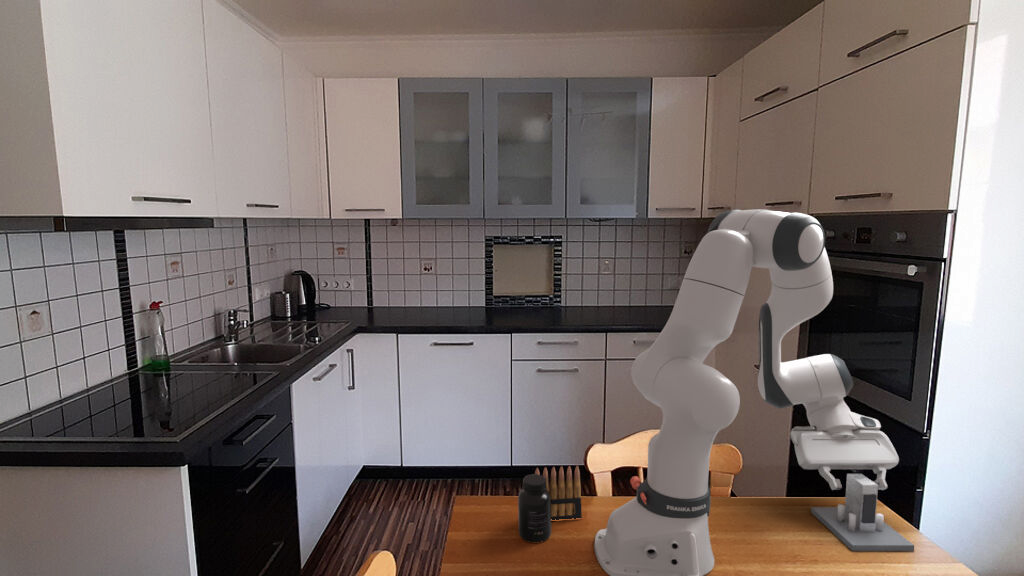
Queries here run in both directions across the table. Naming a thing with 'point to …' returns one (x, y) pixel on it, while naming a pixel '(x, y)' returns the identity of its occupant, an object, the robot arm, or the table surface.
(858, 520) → the block
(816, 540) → the table surface
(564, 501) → the ammunition clip
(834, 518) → the pin tray
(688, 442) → the robot arm
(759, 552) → the table surface
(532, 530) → the supplement bottle
